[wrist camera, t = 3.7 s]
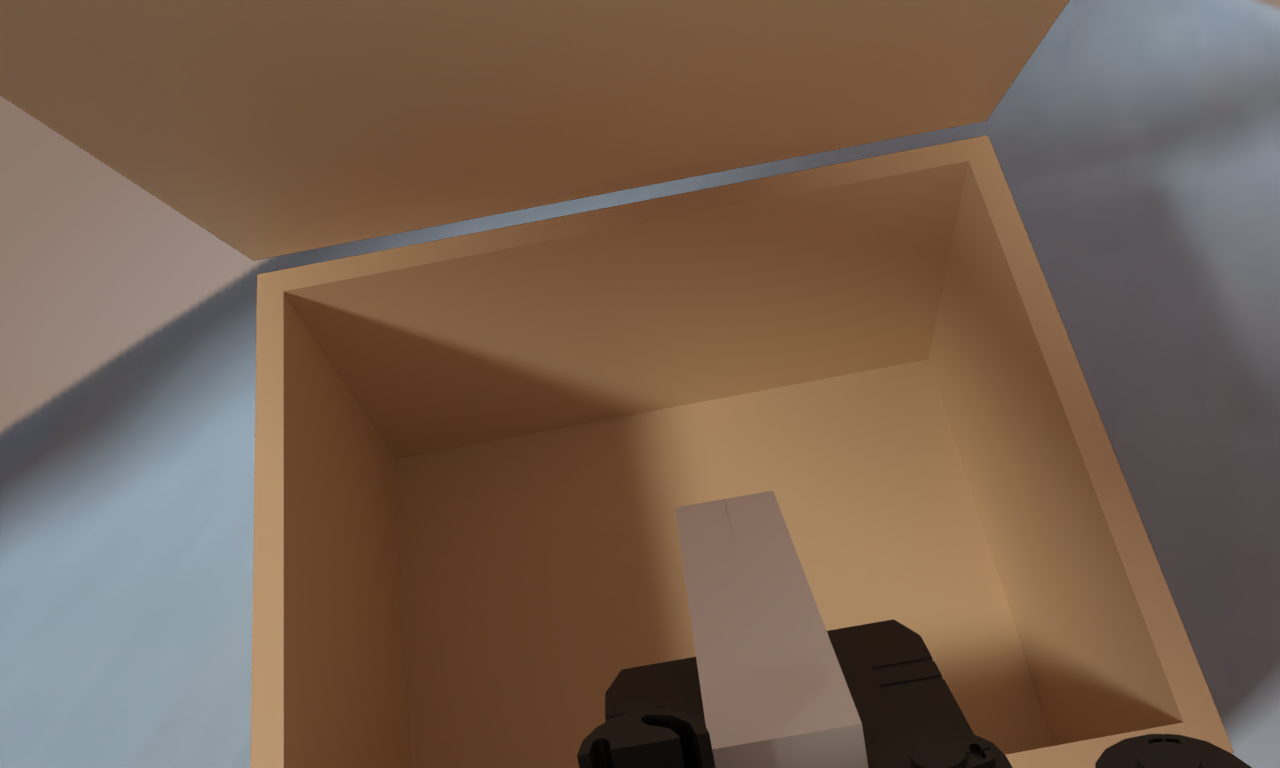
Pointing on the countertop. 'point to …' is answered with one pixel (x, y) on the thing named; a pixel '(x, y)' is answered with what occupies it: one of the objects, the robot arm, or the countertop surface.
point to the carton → (692, 469)
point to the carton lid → (484, 97)
